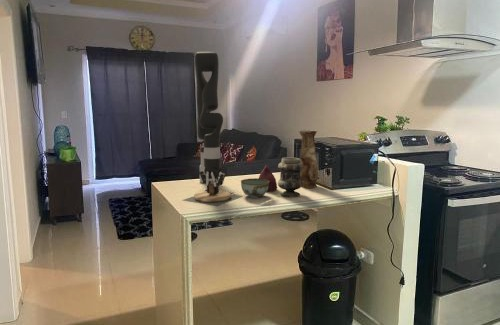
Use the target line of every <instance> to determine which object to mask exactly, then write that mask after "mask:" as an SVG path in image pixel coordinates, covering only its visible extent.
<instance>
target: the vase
mask: <svg viewBox="0 0 500 325" xmlns="http://www.w3.org/2000/svg"><path fill="white" fill-rule="evenodd" d="M298 132H299V134H300V136H301V149H300V158H299V160H300V163H301V164H302V165H303V168H302V169H301V170H300V180H301V181H302V182H303V185H302V187H301V188H306V189H312V188H313V189H315V188H317V187H318V185H317V182H318V179H319V167H318V158H317V152H316V143H315V136H316V134H317V132H318V130H317V129H312V130H311V129H308V130H307V129H300V130H298Z"/></svg>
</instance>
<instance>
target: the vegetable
mask: <svg viewBox="0 0 500 325" xmlns="http://www.w3.org/2000/svg"><path fill="white" fill-rule="evenodd" d="M258 178H259V179H266V180H269V181H270V182H269V186H268V190H267V192H266V193H272V192H276V191H277V190H278V182H277V179H276V178H275V175H274V174H273V173H272V169H270V166H269V165H268V164H265V166H264V168H263V170H262V171H261V172H260V173H259V176H258Z"/></svg>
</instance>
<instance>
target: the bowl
mask: <svg viewBox="0 0 500 325" xmlns="http://www.w3.org/2000/svg"><path fill="white" fill-rule="evenodd" d="M269 182H270V181H269V180H266V179H259V177H257V178H256V177H255V178H254V177H253V178H245V179H241V180H240V183H241V184H240V185H241V190H242V192H243V194H244V195H246V196H248V198H251V199H259V198H262V197H263V196H264V195H266V193H268V192H267V190H268V186H269Z"/></svg>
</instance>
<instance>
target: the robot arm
mask: <svg viewBox="0 0 500 325" xmlns="http://www.w3.org/2000/svg"><path fill="white" fill-rule="evenodd" d="M194 67H195V68H194V69H195V76H196V77H195V79H196V106H197V107H196V110H197V123H196V124H197V127H196V128H197V129H196V130H197V131H196V132H197V138H198V139H199V140H203V145H202V146H201V147H200V151H199V152H200V165H199V168H198V169H199V182H200V183H201V184H205V186H206V191H207V193H209V184H211V183H214V186H215V187H214V194H215V195H216V194H218V193H219V191H220V189H219V188H220V186H222V185H223V184H224V181H225V178H226V176H227V175H226V173H223V172H222V171H221V150H220V149H221V148H220V143H221V142H220V137H221V131H222V128H223V124H224V117H223V115H222V113H221V112H214V111H217V109H218V108H219V100H218V99H219V98H218V84H219V83H218V82H219V56H218V54H217V52H216V51H197V52H196V53H195V55H194ZM207 72H208V73H209V72H210V73H211V75H210V78H209V80H208V81H207V80H206V78H205V76H204V74H203V73H207Z"/></svg>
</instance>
